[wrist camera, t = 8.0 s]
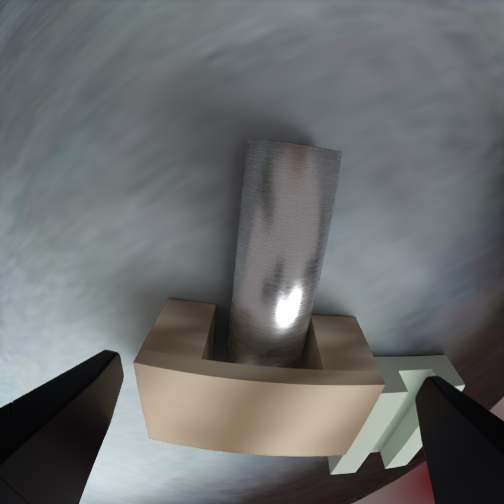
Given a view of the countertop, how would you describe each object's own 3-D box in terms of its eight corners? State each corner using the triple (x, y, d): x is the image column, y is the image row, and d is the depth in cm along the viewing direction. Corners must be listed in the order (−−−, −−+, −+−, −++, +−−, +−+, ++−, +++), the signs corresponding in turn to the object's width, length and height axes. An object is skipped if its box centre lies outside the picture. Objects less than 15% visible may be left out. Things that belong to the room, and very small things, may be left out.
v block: (445, 354, 18) (465, 384, 15) (396, 436, 22) (405, 465, 18) (363, 356, 18) (378, 393, 15) (325, 441, 22) (330, 474, 18)
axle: (244, 138, 14) (254, 138, 10) (323, 148, 14) (357, 154, 11) (221, 389, 19) (224, 435, 16) (278, 389, 20) (289, 433, 16)
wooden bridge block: (355, 317, 17) (385, 384, 12) (331, 388, 19) (345, 454, 14) (168, 298, 17) (133, 362, 12) (172, 373, 19) (149, 438, 14)
